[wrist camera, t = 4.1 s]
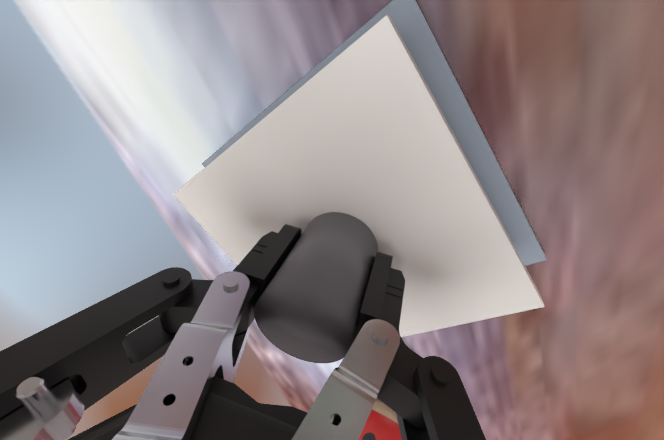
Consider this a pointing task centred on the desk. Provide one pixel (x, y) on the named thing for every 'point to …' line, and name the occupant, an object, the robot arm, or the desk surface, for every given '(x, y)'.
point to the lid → (361, 205)
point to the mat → (454, 111)
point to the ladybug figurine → (381, 424)
